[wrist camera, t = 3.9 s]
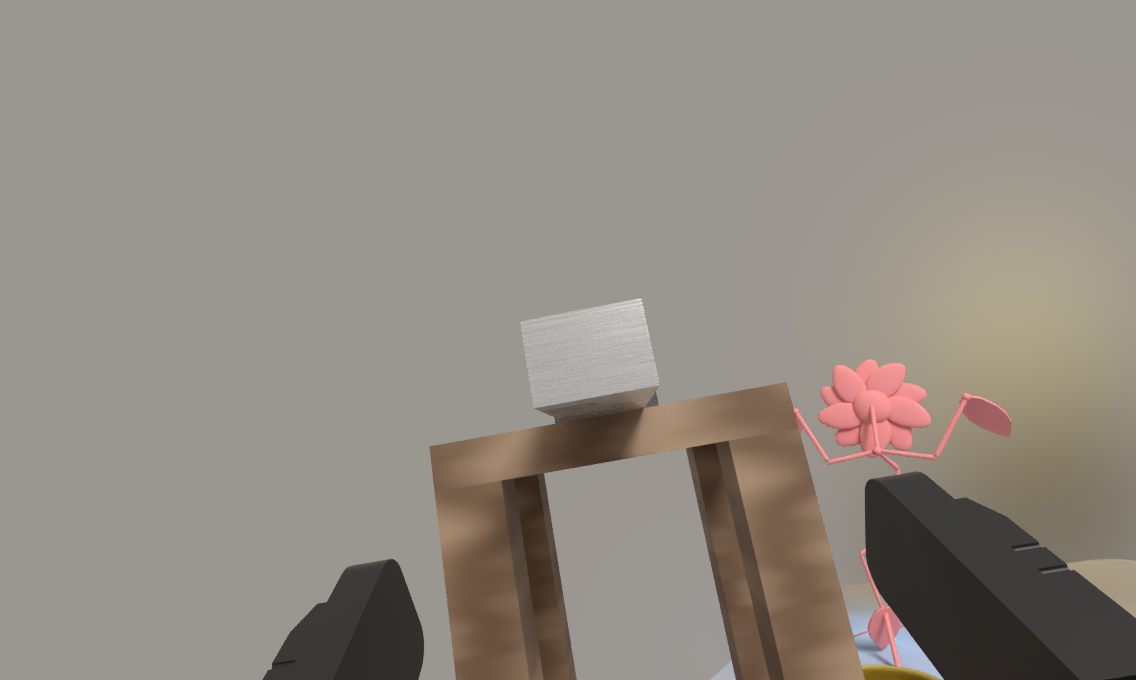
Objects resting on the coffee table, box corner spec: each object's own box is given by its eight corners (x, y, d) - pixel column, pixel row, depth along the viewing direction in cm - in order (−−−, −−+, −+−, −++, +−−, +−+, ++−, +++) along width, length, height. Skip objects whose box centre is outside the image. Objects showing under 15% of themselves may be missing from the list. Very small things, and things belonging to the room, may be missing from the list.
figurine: (1113, 684, 49) (984, 328, 57) (819, 670, 62) (747, 380, 70) (1067, 627, 62) (967, 343, 70) (832, 625, 75) (770, 385, 83)
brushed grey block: (705, 376, 14) (681, 272, 15) (489, 416, 14) (475, 313, 15) (655, 416, 34) (645, 370, 34) (564, 432, 34) (556, 387, 35)
